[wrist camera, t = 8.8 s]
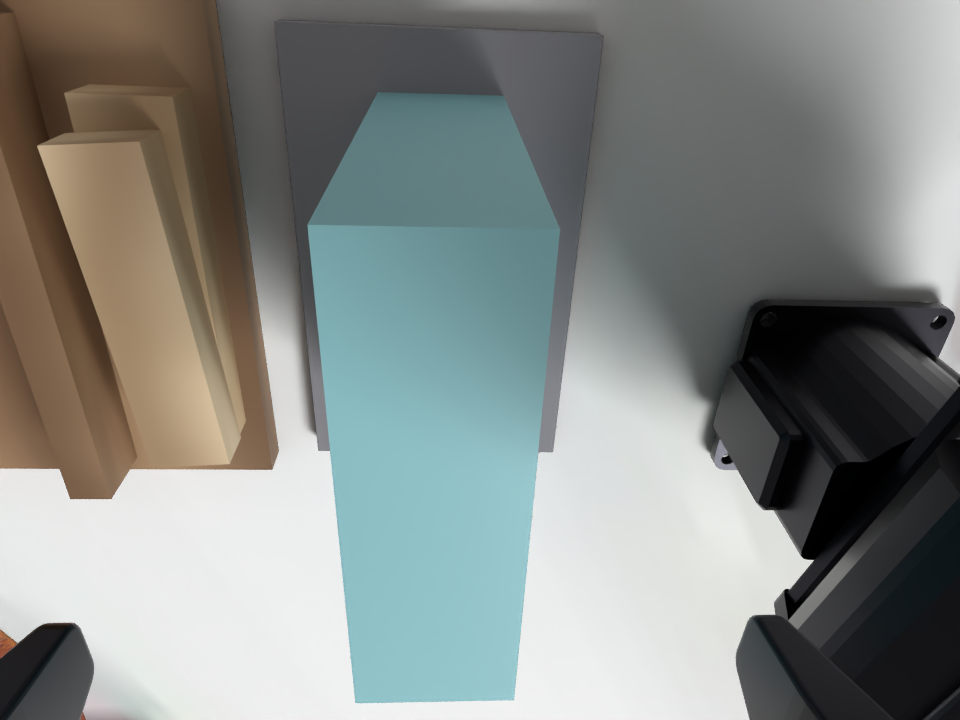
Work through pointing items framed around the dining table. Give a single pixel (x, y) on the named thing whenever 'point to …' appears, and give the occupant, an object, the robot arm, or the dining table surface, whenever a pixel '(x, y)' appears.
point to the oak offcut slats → (152, 264)
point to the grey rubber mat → (440, 70)
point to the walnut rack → (49, 251)
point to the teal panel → (434, 389)
